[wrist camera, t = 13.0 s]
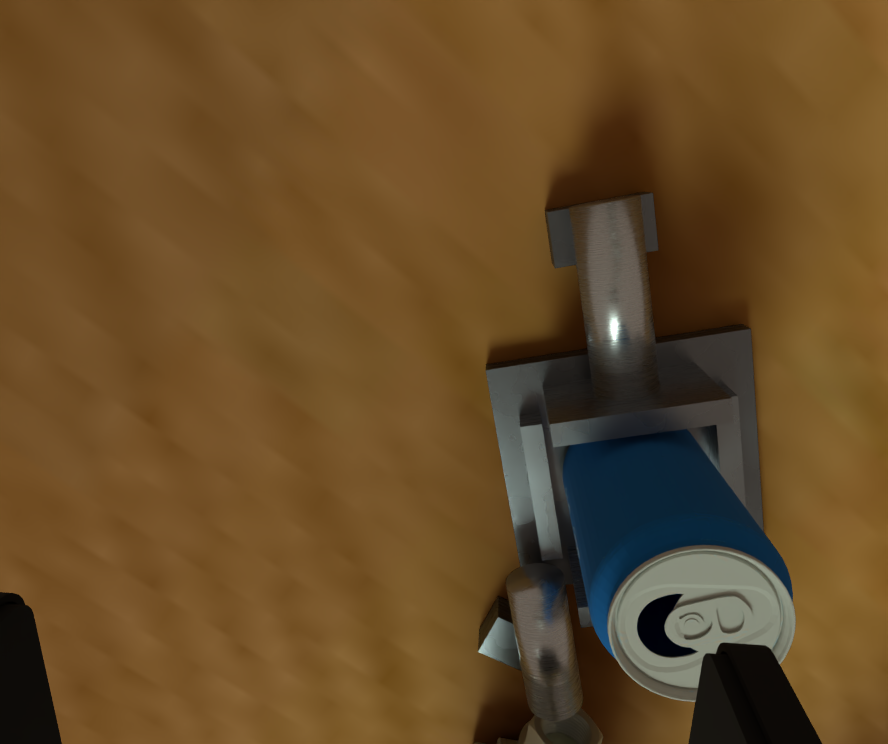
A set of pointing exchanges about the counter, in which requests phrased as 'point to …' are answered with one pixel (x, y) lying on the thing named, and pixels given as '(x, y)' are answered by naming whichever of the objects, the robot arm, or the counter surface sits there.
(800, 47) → the counter surface
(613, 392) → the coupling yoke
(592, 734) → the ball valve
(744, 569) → the beverage can
